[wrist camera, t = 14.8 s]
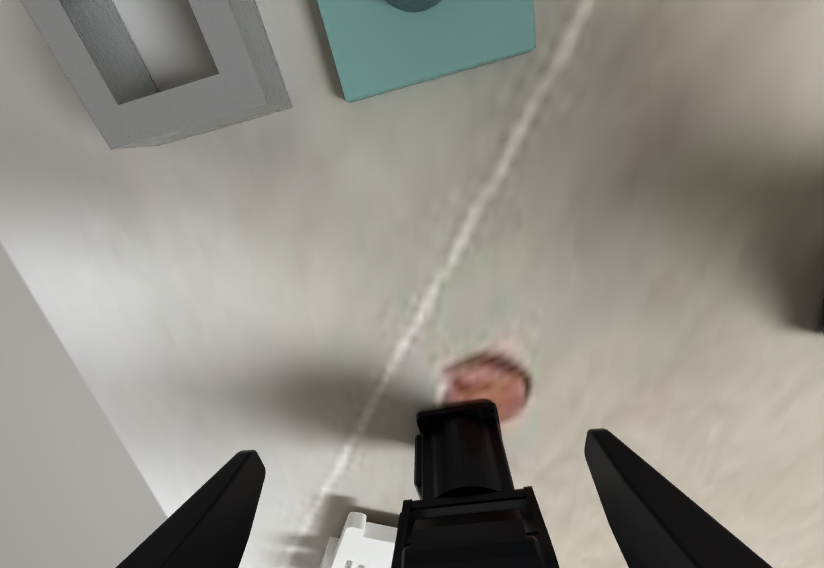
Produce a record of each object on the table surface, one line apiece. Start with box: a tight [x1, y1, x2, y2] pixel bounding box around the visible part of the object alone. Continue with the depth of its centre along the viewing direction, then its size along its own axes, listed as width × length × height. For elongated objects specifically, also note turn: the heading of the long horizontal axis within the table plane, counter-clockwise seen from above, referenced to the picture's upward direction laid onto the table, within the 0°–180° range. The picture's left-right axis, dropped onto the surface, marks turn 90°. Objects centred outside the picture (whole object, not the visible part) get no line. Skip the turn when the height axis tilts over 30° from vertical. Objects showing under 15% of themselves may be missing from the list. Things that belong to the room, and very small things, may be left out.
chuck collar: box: [20, 0, 292, 150], centre depth 14 cm, size 8×8×3 cm
